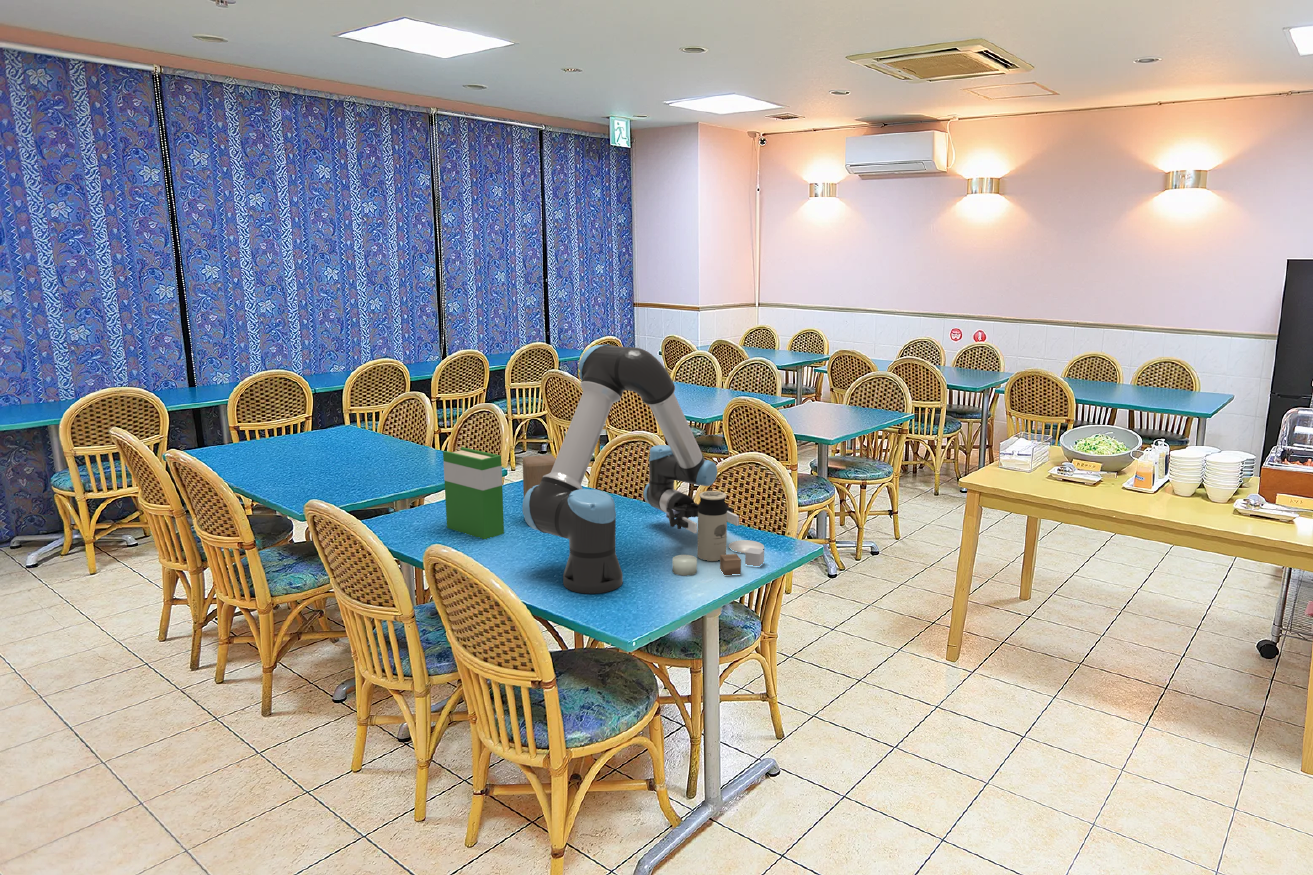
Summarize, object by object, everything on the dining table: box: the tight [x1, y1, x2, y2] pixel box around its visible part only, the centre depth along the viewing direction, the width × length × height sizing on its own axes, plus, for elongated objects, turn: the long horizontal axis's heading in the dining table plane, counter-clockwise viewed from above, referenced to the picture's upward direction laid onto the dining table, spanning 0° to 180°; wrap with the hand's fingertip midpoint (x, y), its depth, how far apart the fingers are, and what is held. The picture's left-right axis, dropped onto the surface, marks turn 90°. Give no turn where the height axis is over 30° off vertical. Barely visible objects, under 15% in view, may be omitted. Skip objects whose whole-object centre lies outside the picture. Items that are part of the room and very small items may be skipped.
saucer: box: [728, 539, 765, 554], centre depth 246 cm, size 10×10×1 cm
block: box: [522, 454, 556, 498], centre depth 269 cm, size 10×10×20 cm
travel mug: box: [696, 490, 728, 562], centre depth 237 cm, size 8×8×18 cm
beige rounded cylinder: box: [672, 554, 698, 577], centre depth 228 cm, size 6×6×4 cm
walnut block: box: [719, 553, 742, 576], centre depth 227 cm, size 4×4×4 cm
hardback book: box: [442, 446, 505, 540], centre depth 258 cm, size 18×7×24 cm, turn 51°
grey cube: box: [744, 548, 765, 566], centre depth 232 cm, size 4×4×4 cm
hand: (717, 524), depth 235 cm, fingers open, 13 cm apart
